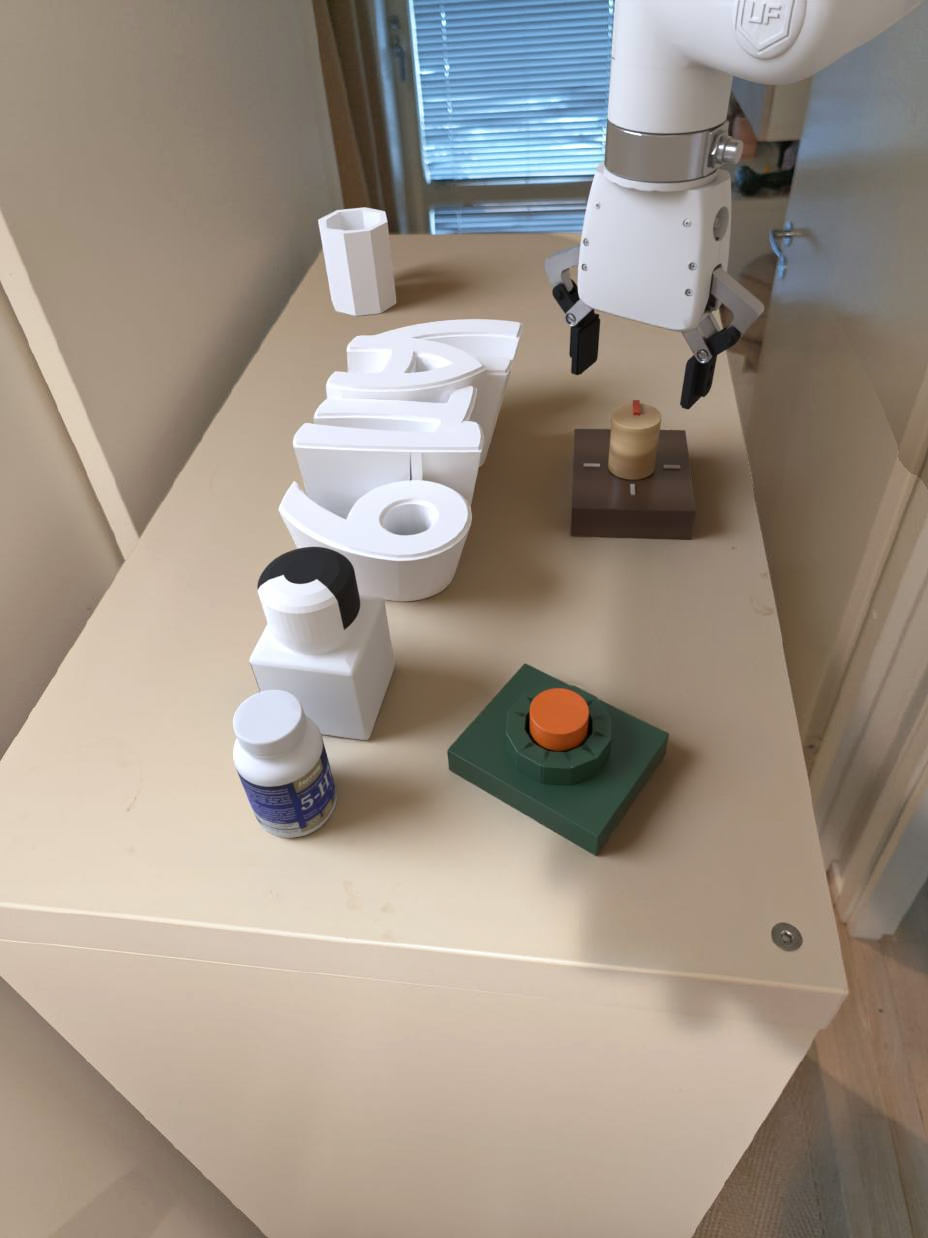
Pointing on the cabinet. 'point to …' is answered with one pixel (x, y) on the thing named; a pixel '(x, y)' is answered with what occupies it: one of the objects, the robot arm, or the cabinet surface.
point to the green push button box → (559, 761)
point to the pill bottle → (283, 764)
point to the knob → (634, 440)
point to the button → (559, 719)
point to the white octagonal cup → (358, 260)
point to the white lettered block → (402, 452)
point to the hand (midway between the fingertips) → (636, 383)
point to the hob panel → (631, 491)
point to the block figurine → (324, 641)
